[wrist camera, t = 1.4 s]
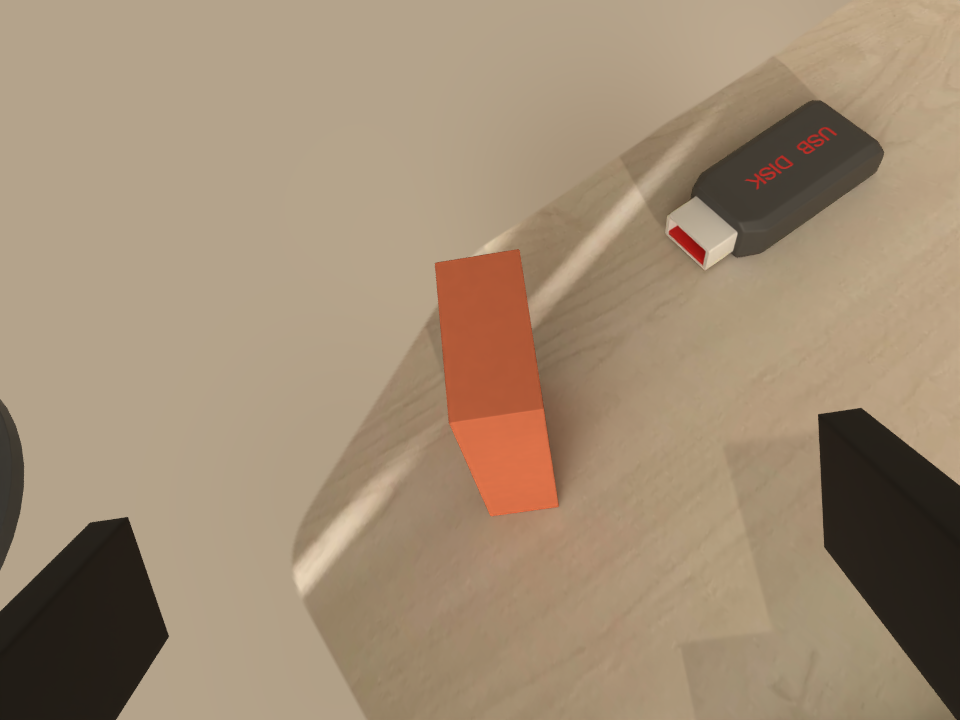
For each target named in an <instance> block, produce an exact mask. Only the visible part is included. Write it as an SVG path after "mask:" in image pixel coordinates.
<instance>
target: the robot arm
mask: <svg viewBox="0 0 960 720" xmlns="http://www.w3.org/2000/svg"><path fill="white" fill-rule="evenodd" d="M818 422H819V443H820V465H821V486H822V507H823V529H824V547H825V549H826V550H827V551H828V553H829V554H830V555H831V556H832V558H833V559H834V560H835V562H836V563H837V564H838V566H839V567H840V568H841V569H842V571H843V572H844V573H845V575H846V576H847V577H848V579H849V580H850V581H851V583H852V584H853V585H854V586H855V588H856V589H857V590H858V592H859V593H860V594H861V596H862V597H863V598H864V599H865V601H866V602H867V603H868V605H869V606H870V607H871V609H872V610H873V611H874V612H875V614H876V615H877V616H878V618H879V619H880V620H881V622H882V623H883V624H884V626H885V627H886V628H887V629H888V631H889V632H890V633H891V635H892V636H893V637H894V639H895V640H896V641H897V642H898V644H899V645H900V646H901V648H902V649H903V650H904V652H905V653H906V654H907V656H908V657H909V658H910V659H911V661H912V662H913V663H914V665H915V666H916V667H917V669H918V670H919V671H920V672H921V674H922V675H923V676H924V678H925V679H926V680H927V682H928V683H929V684H930V686H931V687H932V688H933V689H934V691H935V692H936V693H937V695H938V696H939V697H940V699H941V700H942V701H943V702H944V704H945V705H946V706H947V708H948V709H949V710H950V712H951V713H952V714H953V716H954V717H955V718H956V719H957V720H960V485H958V484H957V483H956V482H954V481H953V480H952V479H951V478H949V477H948V476H947V475H946V474H944V473H943V472H942V471H941V470H939V469H938V468H937V467H935V466H934V465H933V464H932V463H930V462H929V461H928V460H927V459H925V458H924V457H923V456H922V455H920V454H919V453H918V452H916V451H915V450H914V449H913V448H911V447H910V446H909V445H908V444H906V443H905V442H904V441H902V440H901V439H900V438H899V437H897V436H896V435H895V434H894V433H892V432H891V431H890V430H889V429H887V428H886V427H885V426H883V425H882V424H881V423H880V422H878V421H877V420H876V419H875V418H873V417H872V416H871V415H870V414H868V413H867V412H866V411H864V410H863V409H862V408H858V409H851V410H845V411H838V412H831V413H824V414H818ZM168 637H169V635H168V632H167V630H166V627H165V624H164V621H163V618H162V615H161V612H160V609H159V607H158V603H157V600H156V597H155V594H154V592H153V589H152V586H151V583H150V580H149V577H148V574H147V571H146V569H145V565H144V563H143V560H142V557H141V554H140V551H139V548H138V545H137V542H136V539H135V536H134V533H133V530H132V528H131V525H130V522H129V519H128V517H125V518H119V519H112V520H105V521H98V522H92V523H89V524H88V526H86V527H85V529H83V530H82V531H81V532H80V533H79V534H78V535H77V536H76V537H75V538H74V540H72V541H71V542H70V543H69V544H68V545H67V546H66V547H65V548H64V549H63V550H62V551H61V552H60V553H59V554H58V555H57V556H56V557H55V558H54V559H53V560H52V561H51V562H50V563H49V564H48V565H47V566H46V567H45V568H44V569H43V570H42V571H41V572H40V573H39V574H38V575H37V576H36V577H35V578H34V579H33V580H32V581H31V582H30V583H29V584H28V585H27V586H26V587H25V588H24V589H23V590H22V591H21V592H20V593H19V594H18V595H17V596H15V597H14V598H13V599H12V600H11V601H10V602H9V603H8V604H7V605H6V606H5V607H4V608H3V609H2V610H1V611H0V720H116V719H117V717H118V716H119V714H120V713H121V711H122V709H123V708H124V706H125V705H126V703H127V701H128V700H129V698H130V697H131V695H132V694H133V692H134V691H135V689H136V687H137V686H138V684H139V683H140V681H141V680H142V678H143V676H144V675H145V673H146V672H147V670H148V669H149V667H150V665H151V664H152V662H153V661H154V659H155V658H156V656H157V654H158V653H159V651H160V650H161V648H162V647H163V645H164V644H165V642H166V640H167V639H168Z"/></svg>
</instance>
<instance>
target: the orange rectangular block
mask: <svg viewBox="0 0 960 720" xmlns="http://www.w3.org/2000/svg"><path fill="white" fill-rule="evenodd" d="M435 270H436V281H437V293H438V304H439V315H440V327H441V338H442V349H443V361H444V372H445V383H446V395H447V406H448V417H449V424H450V426H451V428H452V431H453V433H454V435H455V437H456V440H457V442H458V444H459V446H460V449H461V451H462V453H463V455H464V458H465V460H466V462H467V464H468V467H469V469H470V471H471V473H472V476H473V478H474V480H475V482H476V485H477V487H478V489H479V491H480V494H481V496H482V498H483V500H484V503H485V505H486V507H487V509H488V512H489V514H490V516H496V515H503V514H510V513H518V512H525V511H532V510H539V509H547V508H554V507H558V506H559V504H558V498H557V491H556V485H555V478H554V472H553V465H552V459H551V452H550V446H549V439H548V433H547V426H546V419H545V413H544V406H543V400H542V393H541V387H540V380H539V374H538V367H537V361H536V354H535V348H534V341H533V335H532V328H531V322H530V315H529V309H528V302H527V296H526V289H525V283H524V276H523V270H522V263H521V257H520V250H519V249H517V250H511V251H505V252H498V253H492V254H486V255H480V256H474V257H468V258H462V259H456V260H449V261H443V262H437V263H435Z"/></svg>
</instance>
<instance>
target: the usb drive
mask: <svg viewBox="0 0 960 720" xmlns="http://www.w3.org/2000/svg"><path fill="white" fill-rule="evenodd" d="M883 155H884V151H883V149H882V147H881V146H880V144H879V142H878V141H877V140H875V139H874V138H873V137H871V136H870V135H868V134H867V133H866V132H864V131H863V130H861V129H860V128H859V127H857V126H856V125H855V124H853V123H852V122H850V121H849V120H848V119H846V118H845V117H843V116H842V115H841V114H839V113H838V112H836V111H835V110H834V109H832V108H831V107H829V106H828V105H827V104H825V103H824V102H822V101H813V100H812V101H810V102H808V103H806V104H804V105H803V106H801V107H800V108H798V109H797V110H795V111H794V112H792V113H791V114H789V115H788V116H786V117H785V118H783V119H782V120H780V121H779V122H777V123H776V124H774V125H773V126H771V127H770V128H768V129H767V130H765V131H764V132H762V133H761V134H759V135H758V136H756V137H755V138H753V139H752V140H750V141H749V142H747V143H746V144H744V145H743V146H741V147H740V148H739V149H737V150H736V151H734V152H733V153H731V154H730V155H728V156H727V157H725V158H724V159H722V160H721V161H719V162H718V163H716V164H715V165H713V166H712V167H710V168H709V169H707V170H706V171H704V172H703V173H702V174H701V175H700V176H699V178H698V180H697V182H696V183H695V185H694V187H693V189H692V194H691V200H689V201H688V202H686V203H685V204H683V205H682V206H680V207H679V208H677V209H676V210H674V211H673V212H672V213H670V214H669V215H667V222H666V229H665V234H666V235H667V236H668V237H669V238H670V239H671V240H672V241H674V242H675V243H676V244H677V245H678V246H679V247H680V248H681V249H682V250H683V251H684V252H685V253H686V254H688V255H689V256H690V257H691V258H692V259H693V260H694V261H695V262H696V263H697V264H698V265H699V266H700V267H701V268H703V269H704V270H707V269H708V268H709V267H711V266H712V265H714V264H715V263H717V262H718V261H719V260H721V259H722V258H724V257H725V256H727V255H728V254H730V253H732V254H733V255H734V256H735V257H743V256H748V255H754V254H759V253H761V252H763V251H765V250H766V249H768V248H769V247H771V246H772V245H773V244H775V243H776V242H778V241H779V240H781V239H782V238H783V237H785V236H786V235H788V234H789V233H791V232H792V231H793V230H795V229H796V228H798V227H799V226H800V225H802V224H803V223H805V222H806V221H808V220H809V219H810V218H812V217H813V216H815V215H816V214H818V213H819V212H820V211H822V210H823V209H825V208H826V207H827V206H829V205H830V204H832V203H833V202H835V201H836V200H837V199H839V198H840V197H842V196H843V195H845V194H846V193H847V192H849V191H850V190H852V189H853V188H854V187H856V186H857V185H859V184H860V183H862V182H863V181H864V180H866V179H867V178H869V177H870V176H871V175H873V174H874V173H875V172H876V171H877V169H878V167H879V165H880V163H881V161H882V158H883Z"/></svg>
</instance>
